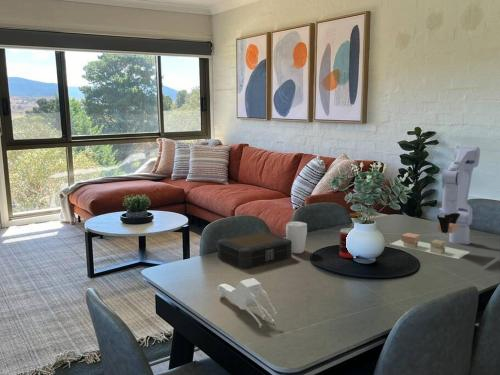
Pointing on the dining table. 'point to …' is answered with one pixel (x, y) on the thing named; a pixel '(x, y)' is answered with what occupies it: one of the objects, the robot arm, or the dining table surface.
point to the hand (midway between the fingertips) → (447, 231)
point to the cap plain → (450, 228)
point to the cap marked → (410, 238)
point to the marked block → (410, 244)
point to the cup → (297, 235)
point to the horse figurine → (246, 296)
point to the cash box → (254, 249)
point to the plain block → (437, 246)
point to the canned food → (344, 243)
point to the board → (426, 248)
